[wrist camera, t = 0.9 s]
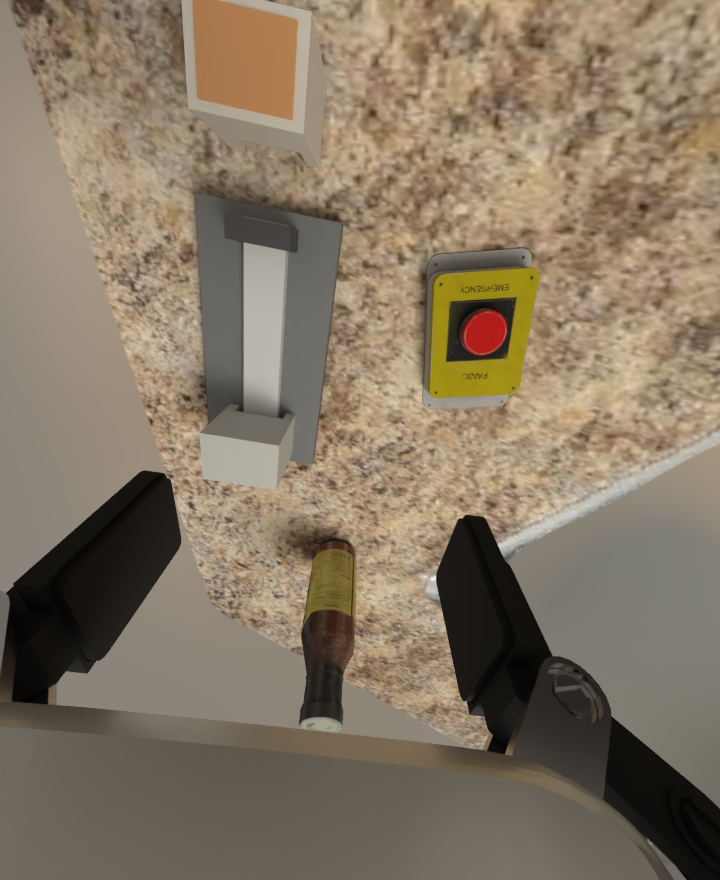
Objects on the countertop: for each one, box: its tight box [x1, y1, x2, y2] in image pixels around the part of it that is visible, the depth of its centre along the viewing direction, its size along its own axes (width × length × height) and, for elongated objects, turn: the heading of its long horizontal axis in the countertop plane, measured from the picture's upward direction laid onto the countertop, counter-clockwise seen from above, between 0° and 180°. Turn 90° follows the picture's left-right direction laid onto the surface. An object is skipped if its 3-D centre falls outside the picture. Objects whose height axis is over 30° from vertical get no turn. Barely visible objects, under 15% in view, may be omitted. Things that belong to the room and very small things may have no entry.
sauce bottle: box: [299, 540, 356, 733], centre depth 37 cm, size 7×6×20 cm
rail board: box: [195, 193, 343, 490], centre depth 29 cm, size 24×12×8 cm, turn 170°
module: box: [181, 0, 327, 168], centre depth 21 cm, size 5×7×7 cm
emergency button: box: [423, 248, 540, 409], centre depth 30 cm, size 9×4×15 cm
